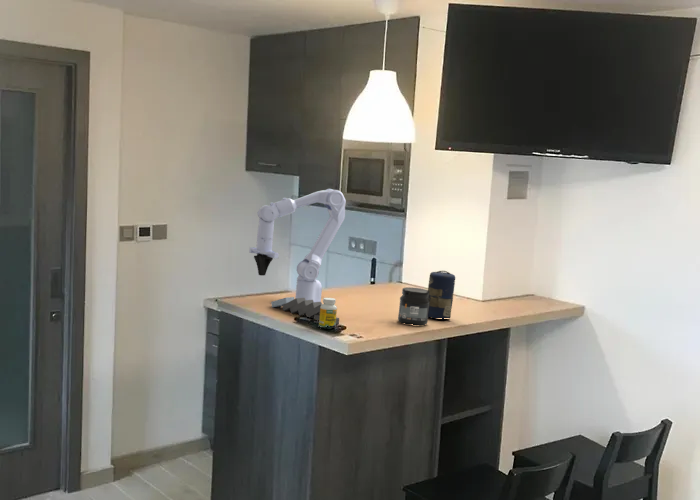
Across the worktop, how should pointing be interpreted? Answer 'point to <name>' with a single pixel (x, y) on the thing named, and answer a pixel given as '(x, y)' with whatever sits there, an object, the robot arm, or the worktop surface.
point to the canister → (440, 294)
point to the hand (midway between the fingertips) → (261, 275)
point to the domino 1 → (281, 302)
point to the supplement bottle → (328, 312)
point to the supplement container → (414, 306)
